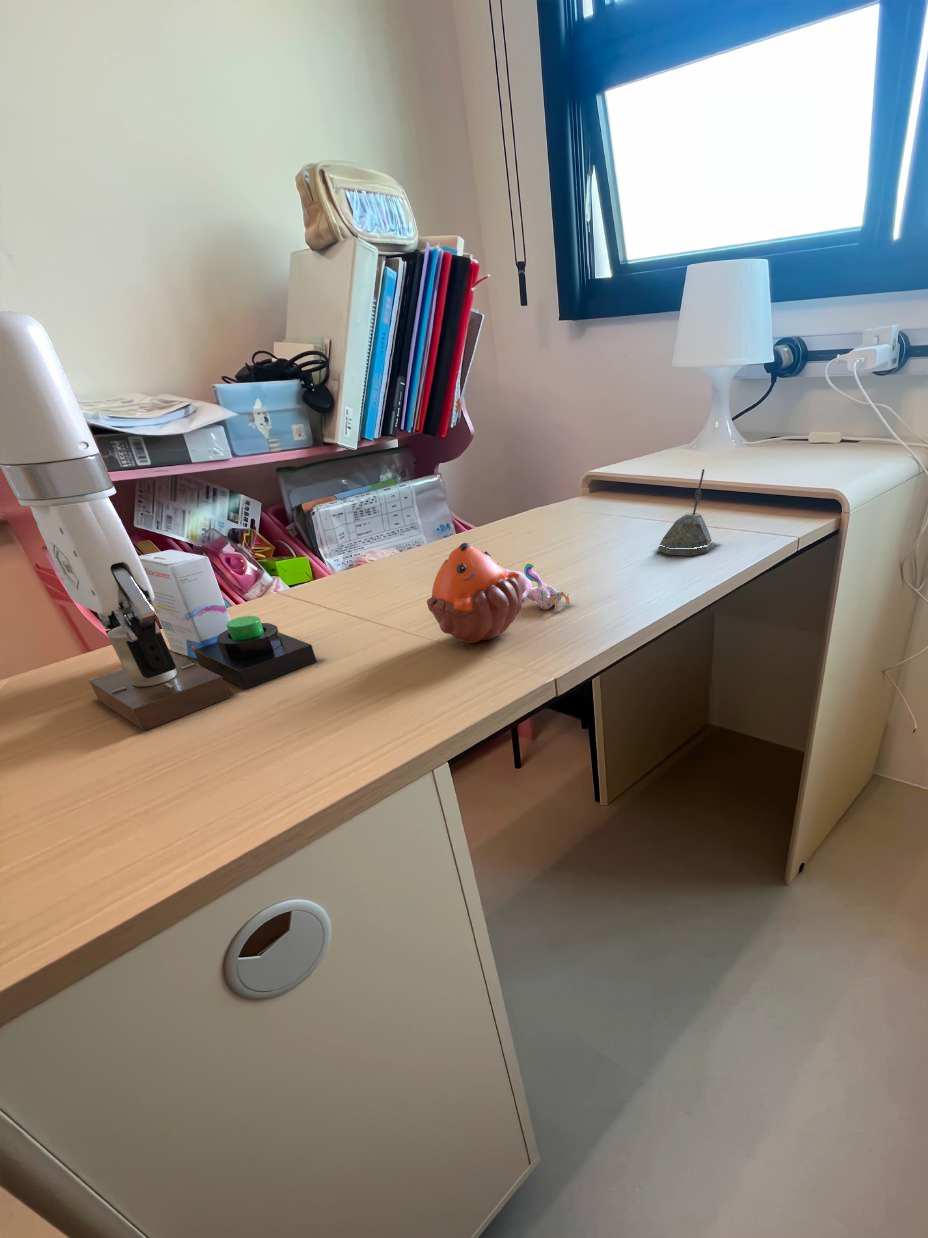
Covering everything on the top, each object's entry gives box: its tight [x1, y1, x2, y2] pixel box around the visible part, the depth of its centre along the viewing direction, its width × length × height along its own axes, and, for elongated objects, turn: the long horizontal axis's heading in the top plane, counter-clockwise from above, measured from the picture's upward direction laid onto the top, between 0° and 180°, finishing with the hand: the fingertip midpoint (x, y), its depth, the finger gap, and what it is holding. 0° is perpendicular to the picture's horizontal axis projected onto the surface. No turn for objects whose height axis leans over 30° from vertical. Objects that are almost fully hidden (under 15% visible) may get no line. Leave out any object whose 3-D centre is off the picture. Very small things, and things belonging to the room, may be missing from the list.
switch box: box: [194, 622, 317, 690], centre depth 77 cm, size 11×9×4 cm
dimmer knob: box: [106, 623, 177, 687], centre depth 68 cm, size 4×4×6 cm
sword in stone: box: [657, 468, 717, 557], centre depth 109 cm, size 10×8×12 cm
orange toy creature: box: [426, 542, 523, 644], centre depth 79 cm, size 12×10×11 cm
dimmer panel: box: [88, 652, 231, 731], centre depth 71 cm, size 12×9×3 cm
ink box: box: [138, 549, 232, 660], centre depth 79 cm, size 9×5×12 cm, turn 58°
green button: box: [226, 615, 264, 640], centre depth 76 cm, size 4×4×2 cm
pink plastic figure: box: [502, 563, 571, 613], centre depth 92 cm, size 6×6×15 cm
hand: (149, 665), depth 69 cm, fingers closed on dimmer knob, 4 cm apart
